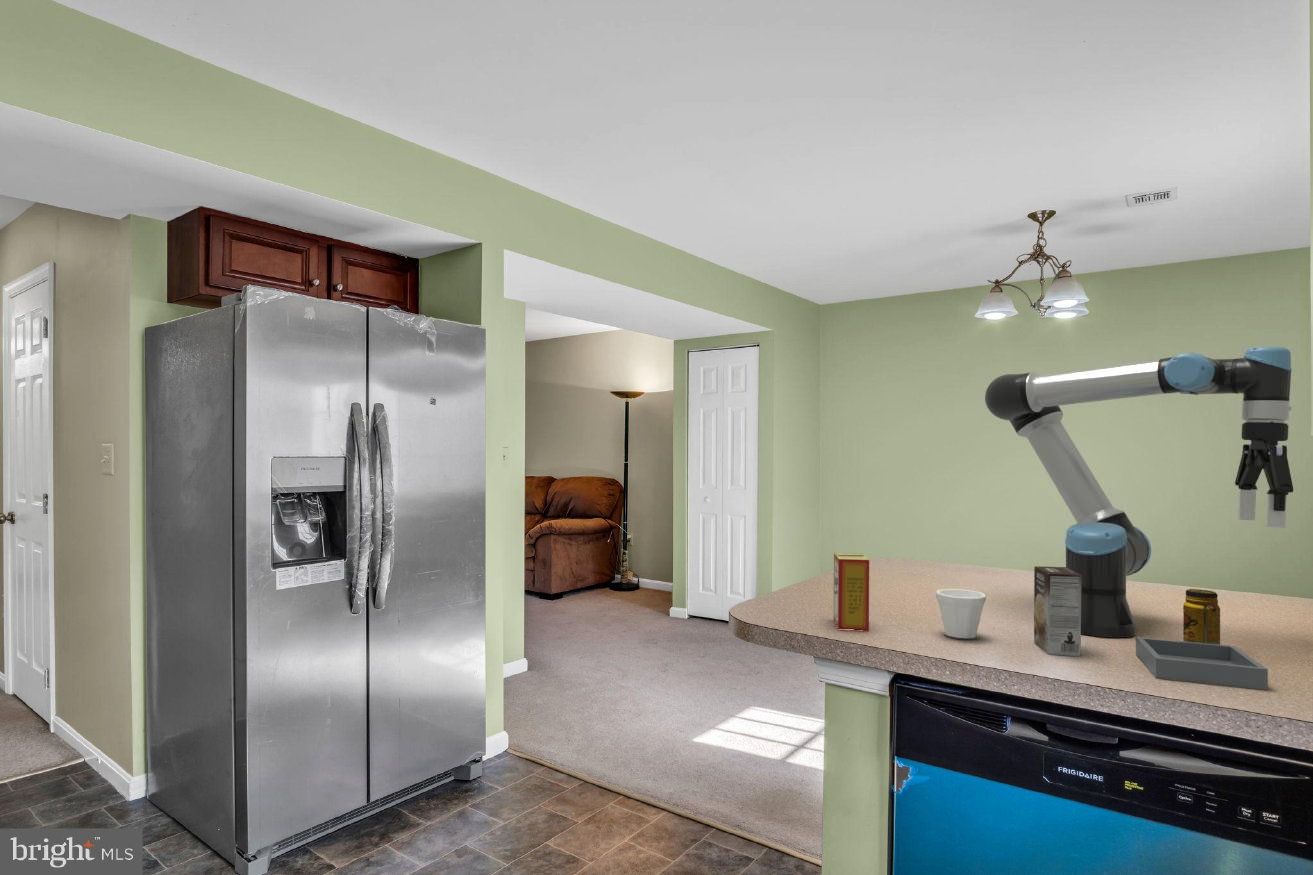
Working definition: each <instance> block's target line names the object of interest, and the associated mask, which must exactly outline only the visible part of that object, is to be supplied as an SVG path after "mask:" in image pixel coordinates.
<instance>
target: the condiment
mask: <svg viewBox="0 0 1313 875" xmlns="http://www.w3.org/2000/svg"><path fill="white" fill-rule="evenodd" d="M1218 596H1219V595H1218V593H1217V592H1216V591H1213V590H1207V589H1196V588H1190V589H1187V590H1185V601H1184V602H1183V608H1182V609H1183V616H1182V617H1183V618H1182V619H1183V620H1182V621H1183V627H1182V628H1183V630H1182V631H1183V633H1182V634H1183V635H1182V636H1183V639H1182V640H1183V641H1185V642H1196V643H1207V644H1218V645H1221V608H1220V606H1219V599H1218Z"/></svg>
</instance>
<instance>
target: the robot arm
mask: <svg viewBox="0 0 1313 875" xmlns="http://www.w3.org/2000/svg"><path fill="white" fill-rule="evenodd" d="M1291 353H1292V352H1291V351H1290V350H1289V349H1288V348H1286V347H1283V346H1261V347H1260V346H1259V347H1250V348H1247V349H1246V350H1245V352H1244V355H1243V357H1238V358H1217V359H1214V358H1210V357H1207V356H1205V355H1204V354H1201V353H1196V352H1185V353H1180V354H1177V355H1176V356H1173V357H1166V358H1156V359H1151V360H1150V359H1149V360H1144V361H1143V360H1142V361H1137V362H1127V363H1122V364H1121V363H1120V364H1115V365H1114V364H1113V365H1107V366H1100V367H1093V368H1086V369H1080V370H1073V371H1065V372H1057V373H1052V374H1051V373H1050V374H1044V375H1039V374H1038V373H1036V372H1027V373H1026V372H1025V373H1008V374H1006V373H1005V374H1003V375H1000V376H998V377H996V378H995V379H994V380H992V381H990V383H989V385H988V386H987V388H986V390H985V394H984V401H985V405H986V408H987V409H988V411H989V412H990V413H991V414H992V415H993V416H995V417H996V418H998V419H1001V420H1004V421H1009V422H1010V424H1011V426H1012V427H1013V429H1014V431H1015V432H1016V434H1017V435H1018V436H1019V437H1022V438H1025V439H1027V440H1028V442H1029V443H1030V445H1031V447H1032V449H1033V451H1034V452H1035V454H1036V455H1037V457H1038V459H1039V460H1040V462H1041V464H1042V465H1043V468H1044V469H1045V470H1046V472H1047V474H1048V477H1050V479H1051V481H1052V483H1053V484H1054V485H1055V487H1056V489H1057V491H1058V493H1059V495H1060V496H1061V497H1062V499H1063V501H1064V503H1065V505H1066V506H1067V507H1068V509H1069V511H1070V513H1071V514H1072V517H1073V518H1074V520H1075V522H1076V524H1073V525H1070V526H1068V528H1067V530H1066V533H1065V534H1066V535H1065V536H1066V537H1065V541H1064V544H1065V567H1067V568H1069V569H1070V570H1072V571H1074V572H1076V573H1078V574H1080V575H1082V577H1081V635H1085V636H1092V637H1100V638H1115V639H1116V638H1130V637H1134V636H1135V635H1136V623H1135V619H1134V616H1133V614H1132V611H1131V608H1130V605H1129V602H1128V600H1127V599H1128V598H1127V577H1128V576H1132V575H1134V574H1137V573H1138V572H1140V571H1141V570H1142V569H1143V568H1144V567H1146V565H1147V564H1148V563H1149V561H1150V559H1151V555H1152V546H1151V542H1150V540H1149V538H1148V537H1147V535H1146V534H1145V532H1143V530H1141V529H1139V528H1138V527H1136V526H1134V525H1133V523H1132V522H1131V520H1130V519H1129V517H1128V515H1127V514H1126V512H1125V511H1124V510H1121V509H1117V508H1115V507H1114V506H1113V504H1112V503H1111V501H1110V499H1109V498H1108V496H1107V494H1106V493H1105V492H1104V490H1103V488H1102V487H1101V485H1100V483H1099V481H1098V480H1097V479H1096V477H1095V476H1094V474H1093V472H1092V470H1091V469H1090V467H1089V466H1088V463H1087V462H1086V461H1085V459H1084V457H1083V455H1082V454H1081V452H1080V450H1079V449H1078V448H1077V446H1076V444H1075V443H1074V441H1073V439H1072V438H1071V436H1070V435H1069V433H1068V431H1067V430H1066V428H1065V427H1064V425H1063V423H1062V419H1063V417H1064V412H1063V411H1062V409H1061V407H1060V406H1065V405H1075V404H1085V403H1092V402H1102V401H1110V400H1120V399H1129V398H1137V397H1146V396H1155V395H1156V396H1157V395H1165V394H1177V393H1179V394H1182V395H1195V396H1198V395H1222V394H1223V395H1224V394H1226V395H1227V394H1237V395H1238V394H1243V395H1242V396H1243V398H1242V408H1241V409H1242V410H1241V411H1242V412H1241V419H1242V420H1243V421H1245V422H1243V423H1241V439H1242V440H1244V441H1251V442H1250V443H1249V444H1245V443H1244V444H1243V445H1242V454H1241V457H1240V458H1241V459H1240V461H1239V465H1238V468H1237V473H1236V476H1235V477H1236V478H1235V481H1234V485H1235V486H1237V487H1238V490H1239V498H1238V520H1241V521H1242V520H1243V521H1244V520H1245V521H1256V505H1257V504H1256V501H1257V500H1256V499H1257V498H1256V497H1257V491H1258V486H1257V483H1258V480H1259V478H1260V476H1261V473H1262V471H1263V472H1264V475H1265V478H1266V480H1267V484H1268V487H1269V489H1268V490H1267V492H1266V494H1267V495H1268V496H1267V498H1268V499H1267V517H1266V518H1267V520H1266V521H1267V522H1266V523H1267V524H1266V526H1267V527H1269V528H1282V529H1286V515H1287V497H1288V495H1289V493H1294V486H1293V484H1294V483H1293V481H1292V480H1293V479H1292V475H1291V470H1290V466H1289V460H1288V447H1287V445H1286V444H1285V445H1284V444H1283V445H1280V444H1279V442H1287V441H1288V440H1289V424H1288V423H1285V422H1286V421H1288V420H1289V417H1290V414H1289V413H1290V411H1291V410H1292V406H1290V394H1291V380H1292V379H1291V378H1292V371H1293V369H1292V364H1291V363H1292V360H1291V359H1292V358H1291V356H1292V355H1291Z"/></svg>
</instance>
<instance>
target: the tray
mask: <svg viewBox="0 0 1313 875" xmlns="http://www.w3.org/2000/svg"><path fill="white" fill-rule="evenodd" d="M1135 656H1136V657H1137V658H1138V659H1139V660H1140V662H1142V664H1143V665H1144V667H1146V669H1148V671H1149V673H1151V674H1152V676H1154V678H1155V679H1163V680H1169V681H1170V680H1172V681H1180V682H1187V683H1188V682H1189V683H1197V684H1206V685H1207V684H1209V685H1216V686H1225V687H1226V686H1227V687H1236V688H1242V689H1243V688H1244V689H1252V690H1253V689H1254V690H1262V691H1263V690H1264V691H1268V687H1269V686H1268V685H1269V684H1268V683H1269V682H1268V679H1269V676H1268V673H1269V672H1268V668H1267V667H1266V666H1264V665H1262V664H1260V662H1258V661H1256V660H1255V659H1254V658H1253V657H1251V656H1249V655H1248V654H1247V653H1246V652H1244V651H1243V650H1241V648H1239V647H1237V646H1236V645H1227V644H1220V645H1218V644H1207V643H1196V642H1185V641H1182V640H1174V639H1173V640H1171V639H1164V638H1163V639H1161V638H1152V637H1143V636H1142V637H1141V636H1140V637H1138V636H1135Z"/></svg>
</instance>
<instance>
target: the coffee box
mask: <svg viewBox="0 0 1313 875" xmlns="http://www.w3.org/2000/svg"><path fill="white" fill-rule="evenodd" d="M1033 568H1034V570H1033V571H1034V572H1033V574H1034V575H1033V576H1034V579H1033V582H1034V583H1033V584H1034V585H1033V586H1034V587H1033V592H1034V594H1033V603H1034V604H1033V642H1034V643H1035V645H1037V646H1038V647H1039V648H1040V649H1042V651H1044V652H1045V653H1046V654H1047V655H1052V656H1053V655H1054V656H1072V657H1073V656H1074V657H1075V656H1076V657H1081V656H1082V655H1081V654H1082V653H1081V650H1082V649H1081V648H1082V643H1081V642H1082V634H1081V577H1082V575H1080V574H1078V573H1076V572H1074V571H1072V570H1070V569H1069V568H1067V567H1066V566H1034V567H1033Z"/></svg>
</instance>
